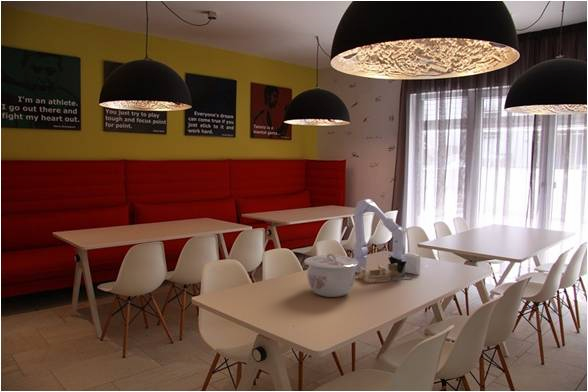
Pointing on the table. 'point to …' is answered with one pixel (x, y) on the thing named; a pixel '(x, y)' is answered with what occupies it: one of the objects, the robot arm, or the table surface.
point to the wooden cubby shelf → (375, 275)
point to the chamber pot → (331, 274)
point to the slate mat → (400, 278)
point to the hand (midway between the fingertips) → (396, 271)
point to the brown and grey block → (395, 270)
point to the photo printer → (412, 263)
